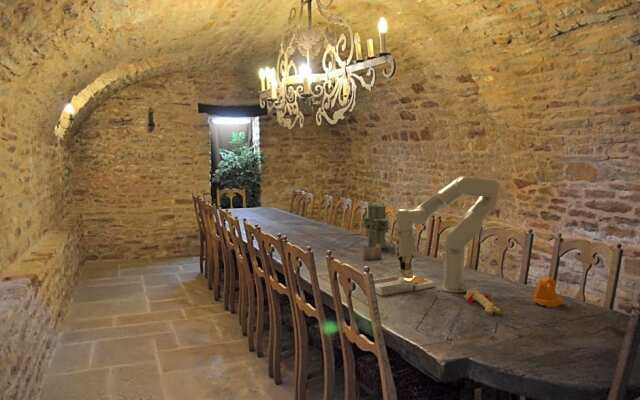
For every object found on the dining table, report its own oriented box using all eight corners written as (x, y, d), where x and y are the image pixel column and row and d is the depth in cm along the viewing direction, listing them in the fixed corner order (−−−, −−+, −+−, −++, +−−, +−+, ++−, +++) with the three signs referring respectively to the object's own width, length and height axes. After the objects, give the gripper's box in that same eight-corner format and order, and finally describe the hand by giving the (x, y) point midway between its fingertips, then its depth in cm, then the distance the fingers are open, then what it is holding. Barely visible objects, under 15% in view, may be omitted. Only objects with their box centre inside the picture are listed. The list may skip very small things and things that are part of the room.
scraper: (413, 277, 255) (413, 256, 254) (408, 278, 254) (408, 257, 253) (402, 274, 262) (402, 253, 261) (398, 275, 261) (398, 254, 259)
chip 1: (417, 280, 260) (415, 276, 259) (411, 286, 259) (409, 281, 258) (411, 278, 264) (409, 274, 263) (405, 284, 262) (403, 279, 261)
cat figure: (504, 317, 217) (478, 295, 242) (506, 298, 216) (480, 278, 240) (482, 318, 216) (459, 296, 240) (484, 299, 214) (460, 279, 239)
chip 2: (417, 279, 260) (417, 285, 261) (424, 278, 262) (424, 283, 263) (411, 277, 264) (411, 283, 264) (418, 276, 266) (418, 281, 267)
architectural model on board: (378, 258, 326) (378, 243, 325) (381, 259, 323) (381, 244, 322) (363, 259, 321) (363, 244, 320) (365, 260, 319) (365, 245, 318)
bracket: (541, 307, 227) (543, 281, 226) (532, 302, 234) (533, 276, 233) (563, 306, 228) (565, 280, 227) (554, 301, 236) (555, 276, 234)
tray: (434, 286, 259) (434, 281, 259) (415, 290, 253) (415, 285, 253) (415, 279, 272) (415, 275, 272) (396, 283, 266) (396, 278, 265)
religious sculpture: (363, 244, 368) (363, 203, 364) (377, 243, 371) (378, 203, 367) (375, 251, 345) (375, 207, 342) (390, 250, 348) (391, 207, 345)
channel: (413, 289, 254) (413, 281, 253) (381, 296, 243) (381, 286, 243) (396, 283, 265) (396, 275, 264) (365, 289, 255) (365, 280, 254)
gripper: (397, 236, 248) (397, 272, 250) (422, 232, 257) (422, 267, 258) (387, 234, 255) (388, 269, 257) (412, 230, 263) (413, 265, 265)
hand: (405, 268), depth 258 cm, fingers closed on scraper, 3 cm apart
